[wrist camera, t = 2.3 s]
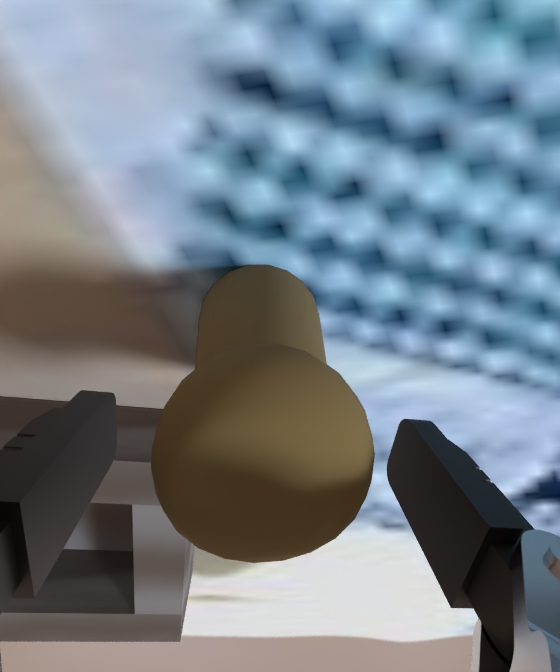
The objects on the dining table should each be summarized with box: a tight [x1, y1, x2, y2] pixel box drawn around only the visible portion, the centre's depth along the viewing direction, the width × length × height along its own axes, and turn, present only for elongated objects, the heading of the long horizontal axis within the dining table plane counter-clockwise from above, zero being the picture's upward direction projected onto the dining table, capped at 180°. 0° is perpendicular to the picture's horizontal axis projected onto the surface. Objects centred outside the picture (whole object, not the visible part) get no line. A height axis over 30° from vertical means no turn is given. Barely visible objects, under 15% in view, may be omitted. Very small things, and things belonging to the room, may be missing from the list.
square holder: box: [0, 397, 194, 642], centre depth 18 cm, size 13×13×4 cm
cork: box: [151, 265, 375, 563], centre depth 12 cm, size 6×6×11 cm
